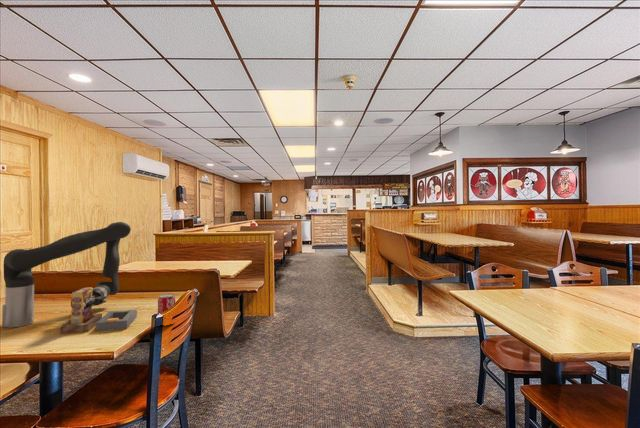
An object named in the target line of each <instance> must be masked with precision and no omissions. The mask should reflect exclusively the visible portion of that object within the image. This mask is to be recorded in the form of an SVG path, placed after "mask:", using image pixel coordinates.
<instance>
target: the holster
mask: <svg viewBox="0 0 640 428" xmlns="http://www.w3.org/2000/svg"><path fill="white" fill-rule="evenodd" d="M102 317H103V313H93V314H92V316H91V319H90V320H89V321H87V322H86V323H82V324H71V319H69V320H68V321H66V322H65V323H64V324H62V325H60V327H59V334H60V335H63V334H76V333H87V332H88V333H89V332H90V331H92V329H93V328H94V327H96V323H97V322H98V321H99V320H100V319H101V318H102Z"/></svg>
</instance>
